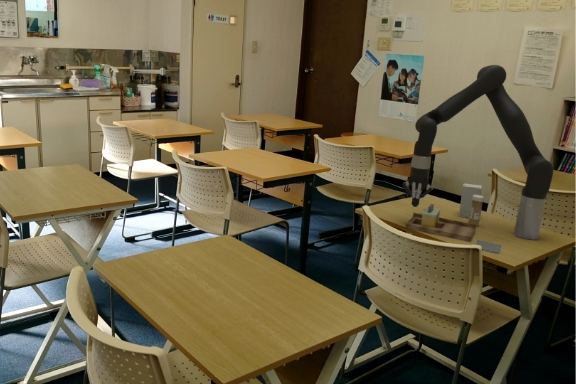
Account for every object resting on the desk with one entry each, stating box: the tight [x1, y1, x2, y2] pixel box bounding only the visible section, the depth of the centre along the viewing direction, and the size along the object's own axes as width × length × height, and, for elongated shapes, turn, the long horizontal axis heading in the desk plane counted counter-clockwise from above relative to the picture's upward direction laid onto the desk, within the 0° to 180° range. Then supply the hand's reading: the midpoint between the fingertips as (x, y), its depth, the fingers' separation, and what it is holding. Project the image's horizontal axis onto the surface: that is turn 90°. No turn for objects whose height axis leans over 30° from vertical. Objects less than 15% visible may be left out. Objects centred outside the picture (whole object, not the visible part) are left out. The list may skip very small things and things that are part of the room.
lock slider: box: [420, 203, 441, 222], centre depth 216 cm, size 6×10×8 cm, turn 154°
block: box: [421, 215, 437, 228], centre depth 216 cm, size 5×5×6 cm
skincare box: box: [458, 183, 483, 219], centre depth 237 cm, size 8×6×15 cm
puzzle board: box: [404, 212, 477, 243], centre depth 215 cm, size 26×13×4 cm, turn 64°
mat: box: [475, 239, 502, 254], centre depth 201 cm, size 10×10×1 cm
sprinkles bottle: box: [468, 195, 485, 227], centre depth 225 cm, size 5×5×14 cm
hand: (414, 206), depth 218 cm, fingers closed
